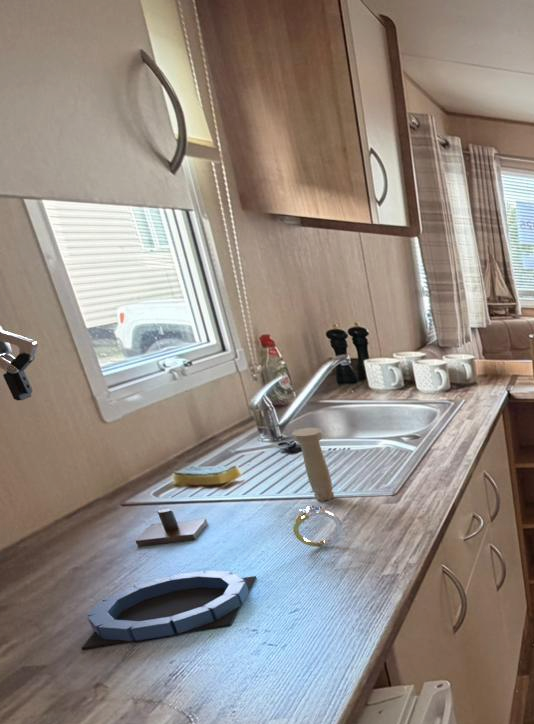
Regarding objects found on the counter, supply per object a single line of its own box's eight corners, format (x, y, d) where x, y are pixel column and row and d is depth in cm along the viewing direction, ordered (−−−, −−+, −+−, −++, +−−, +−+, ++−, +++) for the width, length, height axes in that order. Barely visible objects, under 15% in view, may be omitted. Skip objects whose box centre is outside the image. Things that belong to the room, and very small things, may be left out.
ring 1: (71, 651, 86) (65, 638, 85) (122, 593, 100) (117, 582, 99) (231, 625, 93) (227, 613, 92) (258, 574, 107) (254, 564, 106)
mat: (82, 650, 87) (81, 647, 87) (128, 595, 100) (127, 593, 100) (231, 625, 94) (230, 623, 94) (256, 578, 107) (255, 575, 106)
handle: (310, 505, 135) (291, 436, 129) (312, 495, 140) (293, 429, 133) (338, 502, 137) (320, 434, 131) (339, 492, 142) (321, 426, 136)
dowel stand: (137, 546, 114) (126, 521, 112) (153, 529, 121) (143, 505, 119) (195, 540, 118) (185, 515, 116) (208, 523, 124) (199, 500, 122)
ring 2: (298, 553, 115) (286, 512, 112) (301, 546, 118) (289, 506, 114) (345, 546, 118) (334, 507, 115) (346, 540, 121) (335, 501, 118)
